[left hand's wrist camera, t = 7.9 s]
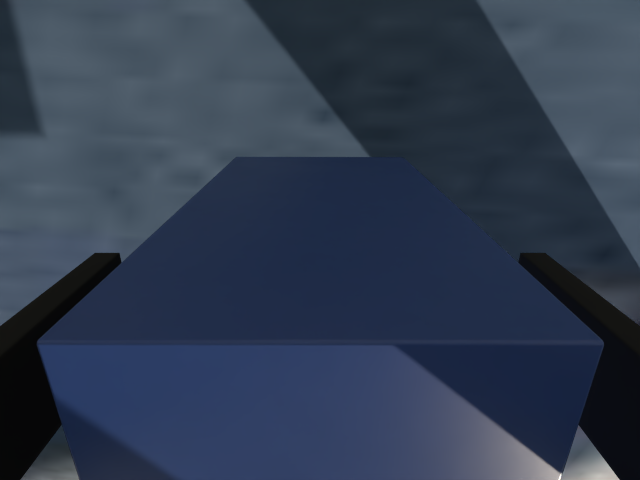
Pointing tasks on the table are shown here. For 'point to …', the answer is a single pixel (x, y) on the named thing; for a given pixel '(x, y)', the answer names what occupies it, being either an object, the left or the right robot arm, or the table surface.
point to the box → (320, 339)
